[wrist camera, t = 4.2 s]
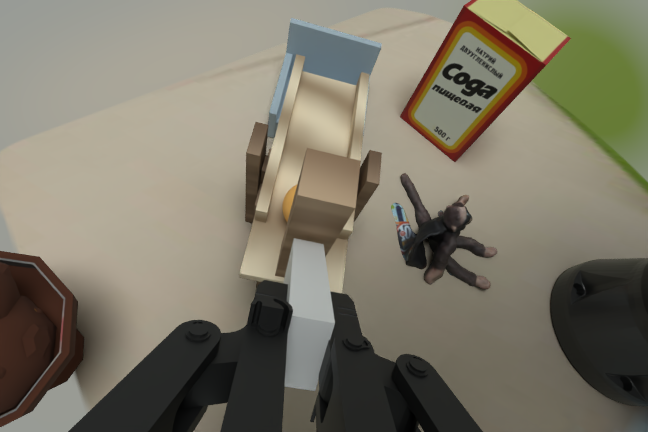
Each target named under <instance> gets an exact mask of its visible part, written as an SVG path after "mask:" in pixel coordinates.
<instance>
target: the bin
mask: <svg viewBox="0 0 648 432" xmlns="http://www.w3.org/2000/svg"><path fill="white" fill-rule="evenodd" d="M380 50H381V43H378V42H374V41H371V40H367V39H364V38H360V37H357V36H353V35H350V34H346V33H343V32H339V31H336V30H332V29H329V28H325V27H321V26H318V25H315V24H311V23H308V22H304V21H301V20H297V19H294V18H291V21H290V28H289V35H288V43H287V51H286V55H285V59H284V62H283V66H282V69H281V73H280V77H279V80H278V84H277V87H276V91H275V94H274V98H273V101H272V105H271V108H270V112H269V121H268V135H267V136H268V137H272V138H274V137H275V134H276V130H277V127H278V123H279V119H280V115H281V111H282V108H283V104H284V100H285V96H286V92H287V88H288V85H289V81H290V77H291V73H292V69H293V66H294V62H295V58H296V54H297V55H301V56H305V61H304V66H303V71H304V72H308V73H312V74H315V75H319V76H323V77H326V78H330V79H334V80H338V81H341V82H345V83H349V84H352V85H357V82H358V79H359V77H360V74H361V72H363V73H367V74H371V72H372V69H373V67H374V65H375V62H376V60H377V57H378V55H379V52H380ZM369 80H370V75H369ZM368 89H369V85H368ZM367 98H368V94H367ZM366 107H367V103H366ZM365 116H366V112H365ZM364 125H365V122H364ZM363 134H364V131H363Z"/></svg>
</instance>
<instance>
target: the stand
mask: <svg viewBox="0 0 648 432" xmlns="http://www.w3.org/2000/svg"><path fill="white" fill-rule="evenodd" d="M267 135H268V125H266V124H262V123H258V122H255V126H254V129H253V132H252V136H251V139H250V142H249V146H248V149H247V152H246V214H245V221H246V222H250V223H253V220H254V216H255V212H256V207H257V203H258V199H259V195H260V191H261V188H262V184H263V180H264V176H265V172H266V169H267V165H268V161H269V157H270V153H271V149H269V153H268V156H267V155H266V146H267ZM381 155H382V153H379V152H375V151H371V150H370V151H369V152H368V154H367V156H366V158H365V160H364V162H363V164H362V166H361V168H360V171H359V180H358V190H357V199H356V208H355V214H354V221H355V220H356V218H357V217H358V215H359V214H360V212H361V211H362V209H363V208H364V206H365V205H366V203H367V202H368V200H369V199H370V197H371V196H372V194H373V193H374V191H375V190H376V188H377V187H378V185H379V181H380V168H381ZM260 283H261V282H259V281H257V285H258V284H260ZM257 285H256V287H257Z"/></svg>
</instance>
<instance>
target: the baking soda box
mask: <svg viewBox="0 0 648 432" xmlns="http://www.w3.org/2000/svg"><path fill="white" fill-rule="evenodd" d="M569 40H570V37H568V36H567V35H565V34H564V33H563V32H561V31H560V30H558V29H557V28H556V27H554V26H553V25H551V24H550V23H549V22H547V21H546V20H544V19H543V18H542V17H541V16H539V15H538V14H536V13H535V12H534V11H532V10H530V9H528V8H527V7H525V6H524V5H523V4H521V3H520V2H518V1H517V0H471V1H470V2H468V3H467V4H466V5H464V6H463V8H462V10H461V12H460V13H459V15H458V17H457V19H456V20H455V22H454V24H453V25H452V27H451V29H450V31H449V32H448V34H447V36H446V38H445V39H444V41H443V43H442V45H441V46H440V48H439V50H438V51H437V53H436V55H435V57H434V58H433V60H432V62H431V64H430V65H429V67H428V69H427V71H426V72H425V74H424V76H423V77H422V79H421V81H420V83H419V84H418V86H417V88H416V90H415V91H414V93H413V95H412V97H411V98H410V100H409V102H408V103H407V105H406V107H405V109H404V110H403V112H402V114H401V116H400V117H401V118H402V119H403V120H404V121H406V122H407V123H408V124H409V125H410V126H412V127H413V128H414V129H415V130H416V131H418V132H419V133H420V134H421V135H423V136H424V137H425V138H426V139H427V140H429V141H430V142H431V143H432V144H433V145H435V146H436V147H437V148H438V149H439V150H441V151H442V152H443V153H444V154H446V155H447V156H448V157H449V158H450V159H452V160H453V161H454V162H456V161H457V160H458V159H459V158H460V156H461V155H462V154H463V153H464V152H465V151H466V150H467V149H468V148H469V147H470V146H471V145H472V144H473V143H474V142H475V140H476V139H477V138H478V137H479V136H480V135H481V134H482V133H483V132H484V131H485V130H486V129H487V128H488V127H489V126H490V124H491V123H492V122H493V121H494V120H495V119H496V118H497V117H498V116H499V115H500V114H501V113H502V112H503V111H504V110H505V108H506V107H507V106H508V105H509V104H510V103H511V102H512V101H513V100H514V99H515V98H516V97H517V96H518V95H519V94H520V92H521V91H522V90H523V89H524V88H525V87H526V86H527V85H528V84H529V83H530V82H531V81H532V80H533V79H534V78H535V76H536V75H537V74H538V73H539V72H540V71H541V70H542V69H543V68H544V67H545V66H546V65H547V64H548V63H549V61H550V60H551V59H552V58H553V57H554V56H555V55H556V54H557V53H558V52H559V50H561V48H562V47H563V46H564V45H565V44H566V43H567V42H568V41H569Z"/></svg>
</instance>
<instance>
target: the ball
mask: <svg viewBox="0 0 648 432" xmlns="http://www.w3.org/2000/svg"><path fill="white" fill-rule="evenodd" d="M296 187H297V185H295V186H293V187H292V188H291V189H290V190H289V191H288V192H287V193H286V195H285V197H284V200H283V205H282V210H283V215H284V217H285V219H286V221H288V218H289V214H290V210H291V206H292V203H293V199H294V195H295V191H296Z"/></svg>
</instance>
